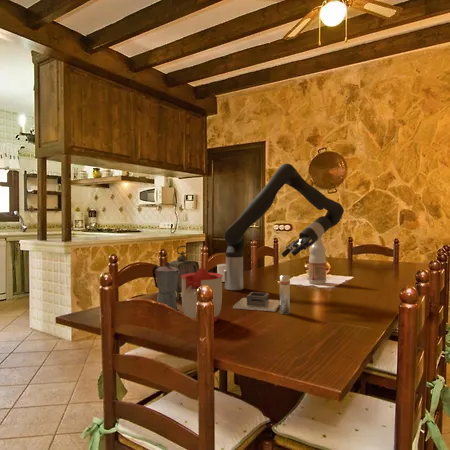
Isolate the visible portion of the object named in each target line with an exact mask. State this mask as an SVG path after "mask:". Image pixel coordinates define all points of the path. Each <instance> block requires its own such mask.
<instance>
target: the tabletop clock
mask: <svg viewBox="0 0 450 450" xmlns="http://www.w3.org/2000/svg"><path fill="white" fill-rule="evenodd" d="M180 248H186V251H185V252H184V251H183V250H182V251H181V252H178V251H179V249H180ZM188 252H189V247H188V246H187V245H180V246H178V247H177V249H176V253H177V254H178V255H179V256H177V259H175V260H173V261H169V262H168V263H169V266H170V267H175V268H178V269H179V274H178V281H177V287H176V291H175V292H176V301H179V300H180V298H182V278H181V276H182V275H183V274H188V273H196V272H197V271H198V270H199V269H200V265H199V262H198V261H196V260H191V259H190V260H188V259H189V258H188V256H187V255H186V254H187V253H188Z"/></svg>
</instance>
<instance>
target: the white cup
mask: <svg viewBox="0 0 450 450" xmlns="http://www.w3.org/2000/svg"><path fill="white" fill-rule="evenodd" d="M216 267H217V269H216V270H217V271H216V273H218V274H221V275H223V277H222V282H225V271H226V263H220V264H217V265H216Z"/></svg>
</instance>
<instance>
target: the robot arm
mask: <svg viewBox="0 0 450 450" xmlns="http://www.w3.org/2000/svg"><path fill="white" fill-rule="evenodd" d="M284 185H287V186H289V187H290V188H292V189H294V190H295V191H296V192H298V193H299V194H300V195H301V196H303V198H305V199H306V201H308V202H309V203H310V204H311V205H312V206H313V207H314V208H315V209H317V210H318V211H322V210H324V209H325V210H326V214H325V215H321V216H319V217H318V218H316V219H315V220H314V221H312V223H310V224H308V225H307V226H306V227H305V228H304V229H302V231H300V233H299V234H298V237H299V239H298V238H297V239H295V240H292V241H291V242H290V243H289V244H288V245H286V246H285V249H284V250H283V251H282V252H281V255H282V257H283V258H286V256H288V255H289V254H292V256H293V257H294V256H295V257H296V256H297V255H298V254H299V253H300V252H303V250H304V251H305V250H307V249H309V248H310V246H311V245H313V244H314V243H315V242H316V241H317V240H318V239H319V238H320V237H321V236H322V237H323V235H324V234H325V233H326V232H327V231H328V230H330V229H332V228H333V227H336V225H338V224H339V223H340V222H341V220H342V217H343V214H344V212H345V210H344V207H343V205H342V204H341V203H339V202H337V201H336V200H334V199H330V198H328V197H327V196H326V195H325V194H323V193H322V192H321V191H320V190H318V189H317V188H315V187H314V186H313V185H311V184H310V183H309V182H307V181H306V180H305V179H304V178H303V177H302V176H301V175H300V173H299V172H298V170H297V169H296V168H295V167H294V166H293V165H292V164H291V163H284V164H281V165H280V166H279V167H278V168H277V169H276V171H275V173H273V174H272V176H271V178H270V179H269V181H268V182H267V183H266V185H264V187H263V188H262V189H261V190H260V191H259V192H258V194H257V195H256V196H255V197H254V198H253V199H252V200H251V202H250V203H249V204H248V205H247V206H246V208H245V209H244V210H243V212H242V213H241V214H240V216H239V217H238V218H237V219H236V220H235V221H234V222H232V223H231V225H230V226H229V227H227V228H226V230H225V231H224V235H223V239H224V241H225V242H226V243H227V245H226V247H227V248H226V251H225V264H226V271H225V283H224V290H228V291H241V290H244V251H245V233H246V232H247V230H248V229H249V228H250V227H251V226H252V225H253V224H255V223H257V222H258V220H259V219H261V218H262V217H263V216H264V215H265V213H267V212H268V211H269V210H270V208H271V207H272V205H273V204H274V201H275V199H276V196H277V194H278V193H279V191H280V190H281V189H282V188H283V186H284Z"/></svg>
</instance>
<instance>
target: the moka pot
mask: <svg viewBox="0 0 450 450" xmlns="http://www.w3.org/2000/svg"><path fill="white" fill-rule="evenodd" d="M169 263H170V262H165V266H158V265H156V264H155V265H154V267H153V268H152V270H151V271H152V277H153V280H154V286H155V288H157V289H158V290H157V299H156V302H157V301H158V302H161V303H164V304H167V305H168V306H170V307H172V308H174V309H176V311H177V310H178V303H177V301H178V300H176V297H177V292H176V287H177V281H178V274H179V269H178V268H175V267H170V266H169Z"/></svg>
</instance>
